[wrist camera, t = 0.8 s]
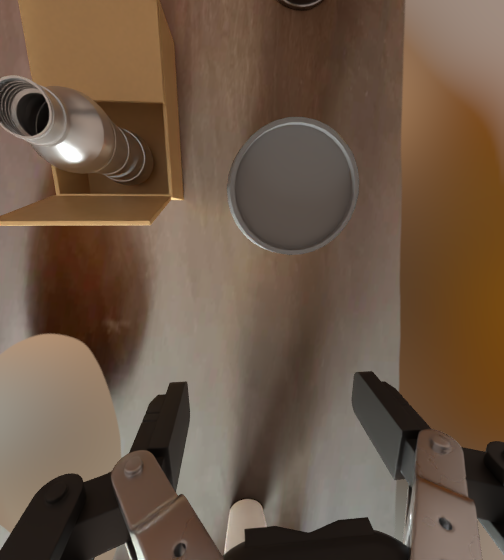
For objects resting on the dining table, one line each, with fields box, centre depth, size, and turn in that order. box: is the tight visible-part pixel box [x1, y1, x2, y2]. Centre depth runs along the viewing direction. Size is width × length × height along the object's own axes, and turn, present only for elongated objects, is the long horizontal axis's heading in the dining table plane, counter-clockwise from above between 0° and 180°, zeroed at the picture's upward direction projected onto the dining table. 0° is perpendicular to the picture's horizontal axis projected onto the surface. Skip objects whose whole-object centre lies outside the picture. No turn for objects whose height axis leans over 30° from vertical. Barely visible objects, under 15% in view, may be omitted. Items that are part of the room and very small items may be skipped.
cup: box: [224, 499, 267, 554], centre depth 48 cm, size 9×9×12 cm
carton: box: [18, 0, 184, 200], centre depth 32 cm, size 19×13×8 cm
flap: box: [0, 196, 171, 226], centre depth 26 cm, size 9×13×1 cm
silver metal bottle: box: [0, 75, 153, 186], centre depth 27 cm, size 6×7×20 cm
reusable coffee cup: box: [227, 117, 359, 255], centre depth 32 cm, size 12×13×15 cm
